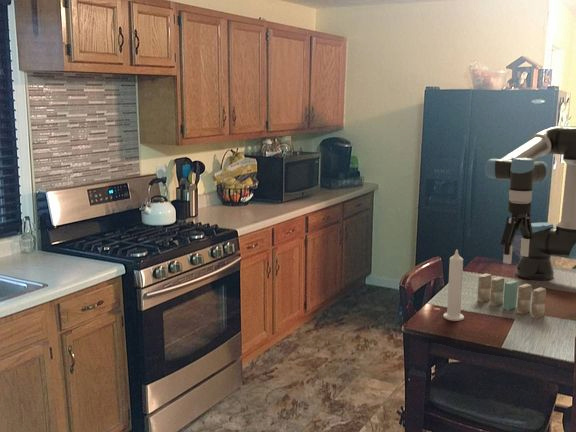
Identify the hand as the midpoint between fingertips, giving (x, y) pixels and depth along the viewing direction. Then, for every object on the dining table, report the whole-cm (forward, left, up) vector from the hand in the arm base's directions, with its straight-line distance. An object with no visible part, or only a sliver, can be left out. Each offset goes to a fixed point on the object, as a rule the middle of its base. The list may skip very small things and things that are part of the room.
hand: (515, 259), depth 212 cm
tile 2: (0, +4, -19) cm, 19 cm away
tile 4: (0, -7, -19) cm, 20 cm away
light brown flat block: (0, -12, -19) cm, 22 cm away
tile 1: (0, +10, -19) cm, 21 cm away
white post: (+24, -8, -19) cm, 32 cm away
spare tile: (0, -1, -19) cm, 19 cm away
